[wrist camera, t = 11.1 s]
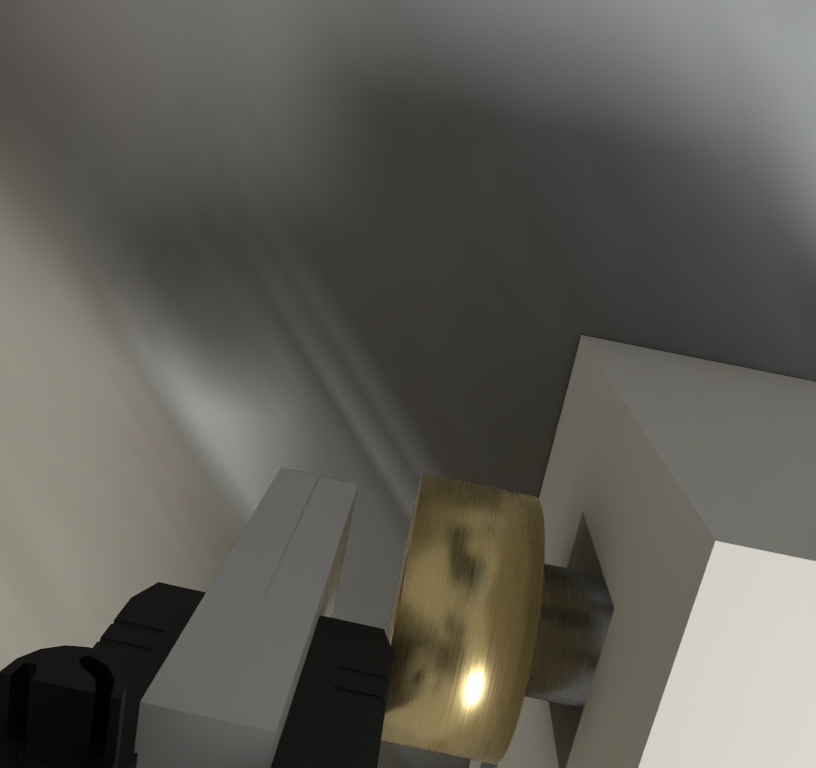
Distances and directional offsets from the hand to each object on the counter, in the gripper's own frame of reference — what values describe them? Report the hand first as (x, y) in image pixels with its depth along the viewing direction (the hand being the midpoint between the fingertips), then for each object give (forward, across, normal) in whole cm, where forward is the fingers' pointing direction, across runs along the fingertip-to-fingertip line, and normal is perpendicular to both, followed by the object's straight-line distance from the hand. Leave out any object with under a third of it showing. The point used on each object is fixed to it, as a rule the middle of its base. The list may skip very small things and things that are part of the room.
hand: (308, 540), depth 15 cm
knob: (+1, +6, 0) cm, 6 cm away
